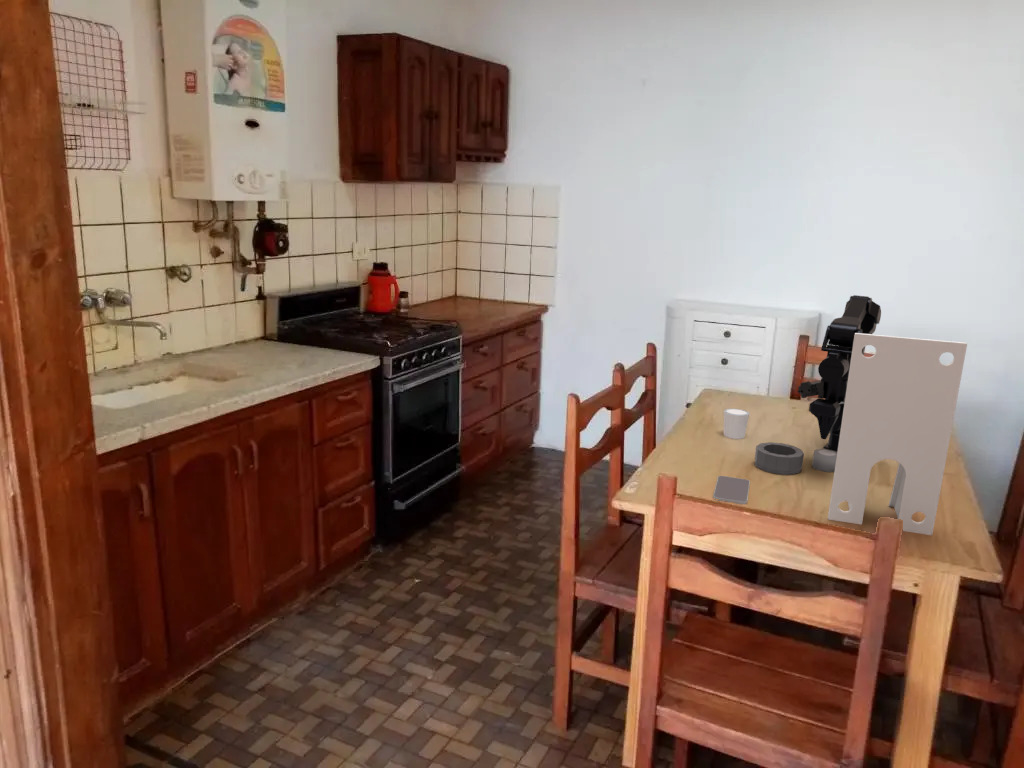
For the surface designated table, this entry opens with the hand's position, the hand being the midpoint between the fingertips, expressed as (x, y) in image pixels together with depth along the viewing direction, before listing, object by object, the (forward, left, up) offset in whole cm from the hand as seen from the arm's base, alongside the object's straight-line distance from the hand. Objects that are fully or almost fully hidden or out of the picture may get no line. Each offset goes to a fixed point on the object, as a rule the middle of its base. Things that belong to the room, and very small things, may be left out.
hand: (829, 434), depth 200 cm
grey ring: (+8, -9, -9) cm, 15 cm away
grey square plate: (+31, -11, -9) cm, 34 cm away
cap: (0, 0, -9) cm, 9 cm away
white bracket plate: (+22, +18, -9) cm, 30 cm away
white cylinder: (-8, -28, -9) cm, 30 cm away
